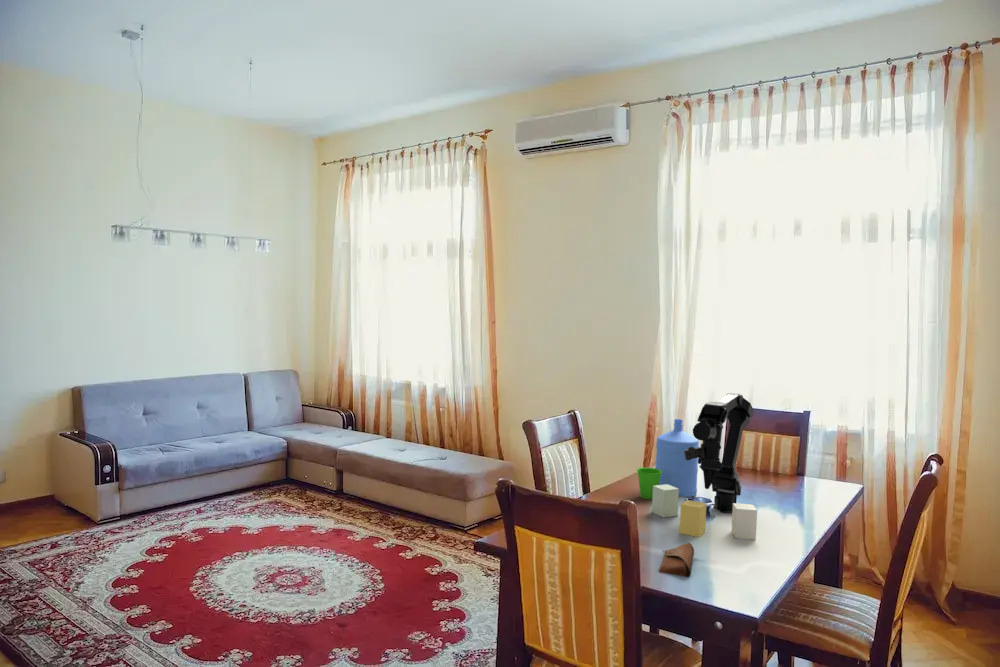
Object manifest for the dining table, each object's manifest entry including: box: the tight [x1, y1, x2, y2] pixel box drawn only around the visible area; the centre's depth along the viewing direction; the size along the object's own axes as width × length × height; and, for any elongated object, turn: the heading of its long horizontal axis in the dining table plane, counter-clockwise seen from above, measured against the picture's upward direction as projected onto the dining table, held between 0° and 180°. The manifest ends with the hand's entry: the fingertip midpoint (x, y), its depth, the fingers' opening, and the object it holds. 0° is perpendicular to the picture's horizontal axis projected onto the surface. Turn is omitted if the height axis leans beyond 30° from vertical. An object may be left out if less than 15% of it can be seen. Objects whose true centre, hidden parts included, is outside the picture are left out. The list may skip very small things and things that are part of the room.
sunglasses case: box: [658, 542, 695, 578], centre depth 189 cm, size 18×7×7 cm
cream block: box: [731, 502, 758, 541], centre depth 210 cm, size 6×6×9 cm
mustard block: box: [679, 499, 707, 538], centre depth 211 cm, size 6×6×9 cm
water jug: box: [654, 418, 700, 498], centre depth 261 cm, size 16×16×28 cm
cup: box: [636, 467, 662, 500], centre depth 250 cm, size 9×9×11 cm
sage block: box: [651, 484, 680, 518], centre depth 230 cm, size 6×6×9 cm
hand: (706, 488), depth 226 cm, fingers closed
